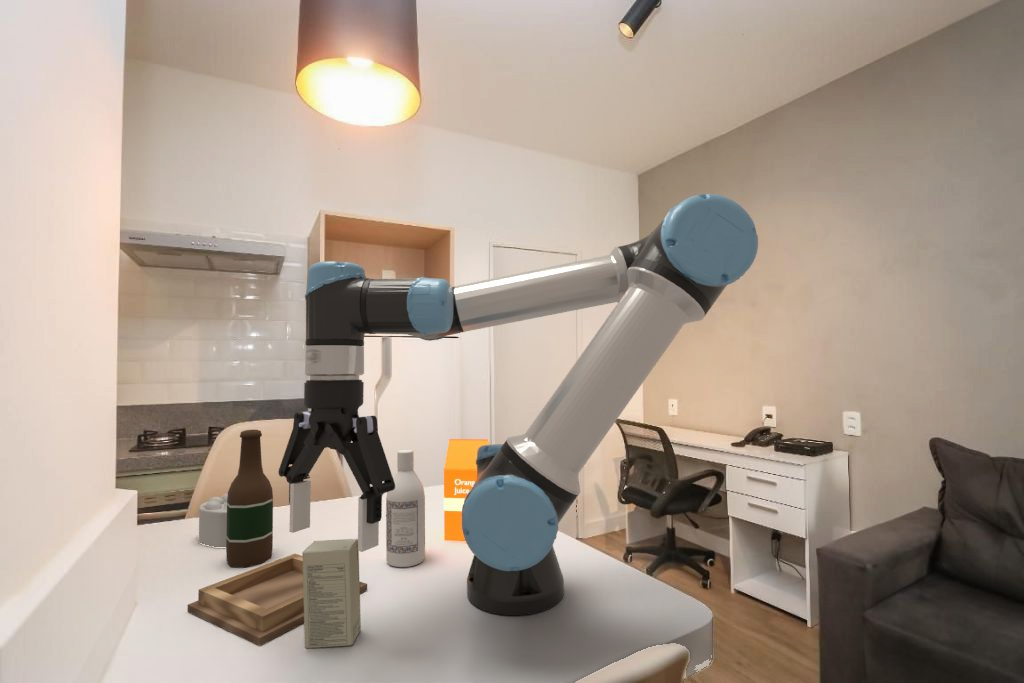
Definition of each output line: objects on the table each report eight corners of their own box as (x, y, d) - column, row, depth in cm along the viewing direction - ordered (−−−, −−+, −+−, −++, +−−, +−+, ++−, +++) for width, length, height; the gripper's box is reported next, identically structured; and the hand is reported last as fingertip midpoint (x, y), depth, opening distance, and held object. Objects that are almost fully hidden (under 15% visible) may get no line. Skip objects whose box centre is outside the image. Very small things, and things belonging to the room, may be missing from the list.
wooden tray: (367, 590, 79) (367, 571, 79) (259, 645, 63) (259, 621, 64) (296, 567, 88) (296, 550, 88) (187, 611, 73) (187, 590, 73)
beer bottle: (216, 563, 91) (218, 431, 92) (255, 549, 97) (256, 427, 99) (243, 571, 87) (244, 434, 88) (281, 556, 94) (282, 428, 95)
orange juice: (486, 542, 100) (484, 442, 101) (443, 540, 101) (443, 441, 102) (493, 529, 107) (492, 436, 108) (454, 527, 109) (453, 436, 110)
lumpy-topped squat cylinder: (224, 551, 97) (224, 506, 98) (184, 541, 103) (185, 499, 103) (271, 534, 106) (271, 493, 107) (232, 526, 112) (232, 487, 113)
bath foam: (402, 551, 95) (401, 446, 96) (432, 556, 92) (431, 448, 93) (378, 564, 89) (378, 452, 90) (410, 570, 86) (409, 455, 87)
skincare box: (361, 629, 67) (361, 537, 68) (352, 647, 63) (352, 549, 63) (313, 630, 67) (314, 538, 68) (301, 649, 63) (301, 550, 63)
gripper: (253, 377, 70) (250, 530, 69) (380, 380, 57) (378, 567, 56) (300, 376, 76) (298, 516, 75) (423, 378, 63) (422, 547, 62)
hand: (332, 538), depth 66 cm, fingers open, 13 cm apart
